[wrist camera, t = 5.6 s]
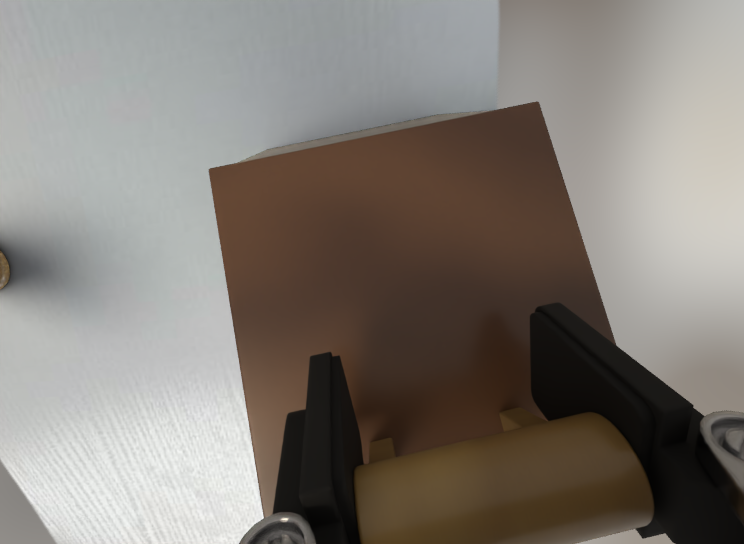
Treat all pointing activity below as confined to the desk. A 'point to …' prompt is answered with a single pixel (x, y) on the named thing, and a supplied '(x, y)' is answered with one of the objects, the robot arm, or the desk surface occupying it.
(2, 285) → the sprinkles bottle
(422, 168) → the lid
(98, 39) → the desk surface
